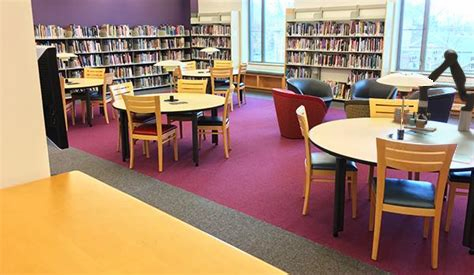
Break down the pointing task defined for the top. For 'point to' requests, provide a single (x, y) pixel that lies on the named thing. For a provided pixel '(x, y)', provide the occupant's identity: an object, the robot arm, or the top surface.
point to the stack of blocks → (406, 115)
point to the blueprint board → (419, 128)
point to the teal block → (412, 122)
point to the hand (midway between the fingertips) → (420, 124)
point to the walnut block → (420, 123)
